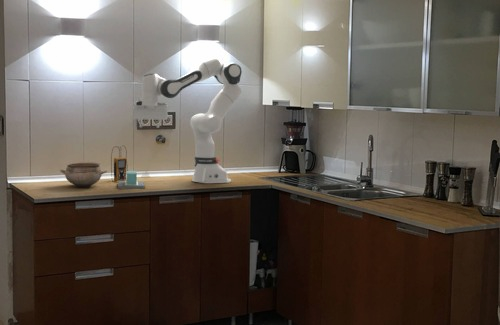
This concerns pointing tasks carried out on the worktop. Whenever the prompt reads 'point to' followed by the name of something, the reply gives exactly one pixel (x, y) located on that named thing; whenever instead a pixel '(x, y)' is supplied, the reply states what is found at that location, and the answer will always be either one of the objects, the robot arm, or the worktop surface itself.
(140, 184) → the header board
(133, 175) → the block
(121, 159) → the multimeter
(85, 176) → the cooking pot
